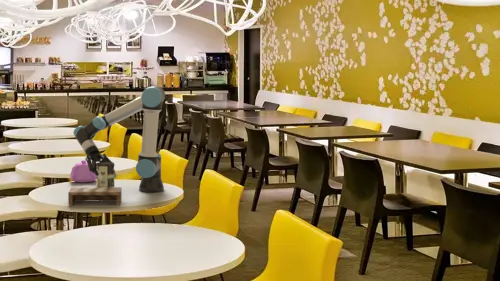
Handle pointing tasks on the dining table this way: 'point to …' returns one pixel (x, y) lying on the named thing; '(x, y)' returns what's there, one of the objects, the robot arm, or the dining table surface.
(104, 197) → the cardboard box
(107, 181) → the coffee can
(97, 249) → the dining table surface
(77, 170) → the teapot
